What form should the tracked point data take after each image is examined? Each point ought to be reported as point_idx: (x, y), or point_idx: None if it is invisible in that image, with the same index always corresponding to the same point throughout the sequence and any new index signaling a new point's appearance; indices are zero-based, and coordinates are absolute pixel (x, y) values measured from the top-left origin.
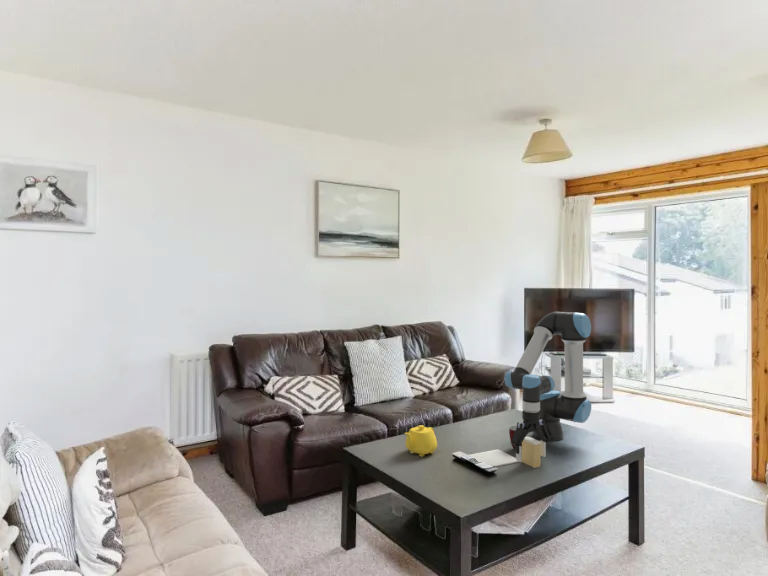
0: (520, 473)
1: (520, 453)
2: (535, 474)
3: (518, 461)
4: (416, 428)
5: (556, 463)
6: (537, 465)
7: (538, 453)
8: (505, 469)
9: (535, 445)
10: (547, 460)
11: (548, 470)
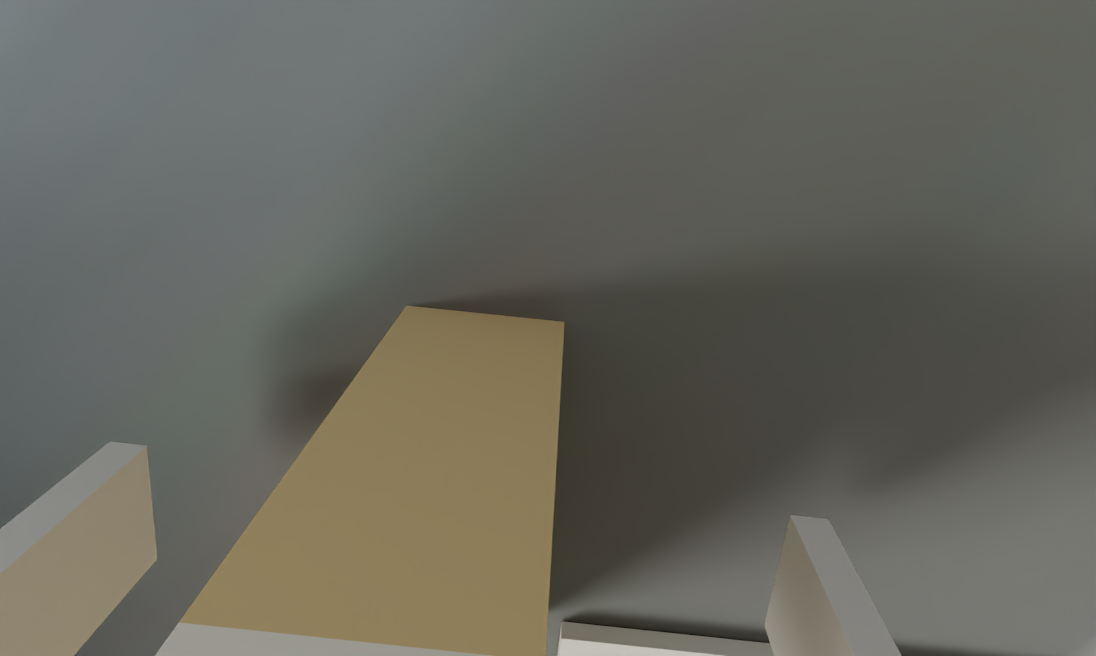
0: (1019, 268)
1: (884, 653)
2: (821, 67)
3: (607, 635)
4: None
5: (6, 251)
6: (479, 324)
7: (397, 436)
8: (1063, 533)
9: (479, 631)
10: (75, 436)
11: (413, 75)
